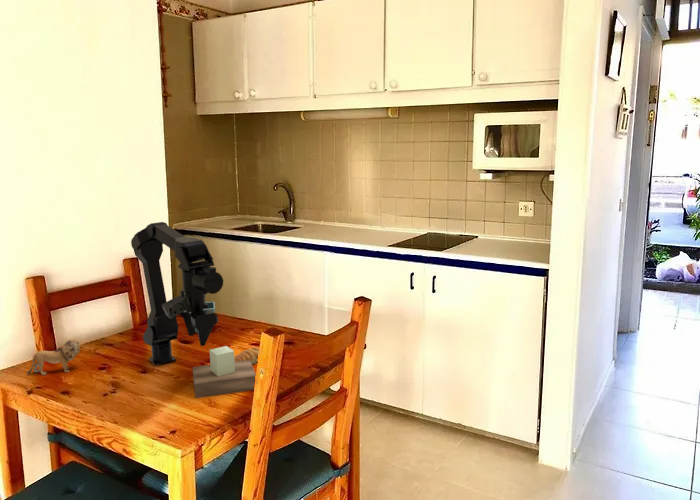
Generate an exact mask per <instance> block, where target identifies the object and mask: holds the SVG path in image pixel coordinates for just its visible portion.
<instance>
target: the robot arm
mask: <svg viewBox="0 0 700 500" xmlns="http://www.w3.org/2000/svg"><path fill="white" fill-rule="evenodd" d="M130 244H131V247H132V250H133V253H134V255H135V257H136V258H137V259H138V261H140V262H141V264H142V269H143V273H144V279H145V280H144V281H145V286H146V290H147V296H148V297H147V298H148V301H149V308H150V312H149V315H148V317H147V319H146V322H147V328H146V329H145V331H144V333H143V336H142V339H143V342H144V343H145V344H146V345H149V347H151V348H150V349H151V356H150V357H148V359H149V361H150V362H151V363H152V364H153V365H154V366H159V365H162V364H163V365H164V364H167V363H171V362H176V361H177V360H176V358H175V356H174V355H172V354H173V353H172V352H173V351H172V341H173V340H177V339H178V334H179V327H180V326H179V323H178V321H177V316H179V315H180V317H182V319H183V321H184V323H185V327H186V330H187V333H188V336H189V337H193V336H194V335H195V333H197V332H198V333H197V336H198V341H199V345H200V347H204V346H205V345H206V344H207V341H208V340H209V337H210V334H211V332H212V330H213V329H214V327H215V325H216V324H218V322H219V315H217V313H216V312H215V313H214V312H212V311H211V310H205V311H203V310H204V309H207V308H208V304H206V303H205V302H206V295H207V294H210V295H215V294H217V293H218V292H220V291H221V290H222V289H223V286H224V279H223V276H222V274H221V273H220V272H217V267H215V262H214V258H213V256H212V254H211V252H210V251H209V249H208V247H207V245H206V243H205V242H204V241H203V240H202V239H199V238H196V237H189V236H188V237H187V236H185V235H183V234H182V233H180V231H179V232H178V231H177V230H175V229H174V228H172V227H170V226H169V225H168V224H167V222H164V221H159V222H153V223H152V222H151V223H149V224H147V225H146V227H145V228H143V229H141V230H139V231H138V232H136V233H135V234H134V235H133V236H132V238H131V240H130ZM163 245H165V246H166V247H167V248H169V249H170V250H172V251H173V252H174V258H176V260H178V262H179V263H180V264H179V265H178V266H177V268H178V269H181V278H182V289H180V291H179V295H178V296H175V297H173V298H171V299H169V300H167V298H166V297H167V296H166V295H167V294H166V291H165V286H164V280H163V279H164V278H163V273H162V268H161V263H160V261H161V260H160V259H161V257H162V254H163V252H164V247H163ZM195 328H196V329H197V332H196V331H195Z"/></svg>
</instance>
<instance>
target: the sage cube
mask: <svg viewBox="0 0 700 500" xmlns="http://www.w3.org/2000/svg"><path fill="white" fill-rule="evenodd" d="M234 357H235V351H234V350H233V349H232V348H231V347H229V346H227V345H224V346H220V347H216V348H211V349H209V363H210V364H209V365H210V366H211V371H212V372H213V373H214V374H216V375H217V376H221V375H225V374H229V373H233V372H235V361H234Z"/></svg>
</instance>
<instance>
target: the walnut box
mask: <svg viewBox="0 0 700 500" xmlns="http://www.w3.org/2000/svg"><path fill="white" fill-rule="evenodd" d="M192 376H193V378H192V379H193V386H194V387H193V389H194V396H195V399H199V398H200V399H201V398H206V397H214V396H220V395H226V394H227V395H228V394H235V393H241V392H242V393H243V392H249V391H255V390H254V383H255V376H256V377H257V375H256V372H255V369H254V367H253V364H251V361H250V360H245V361H237V362H235V372H233V373H229V374H225V375H221V376H217V375H216V374H214V373H213V372H212V371H211V366H210V364H206V365H200V366H192Z"/></svg>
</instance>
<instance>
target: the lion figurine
mask: <svg viewBox="0 0 700 500" xmlns="http://www.w3.org/2000/svg"><path fill="white" fill-rule="evenodd" d="M80 351H81V346H80V341H79V340H77V339H73V338H72V339H69V340H67V341H65V343H64V344H62V345H61V346H59V347H58V348H57V349H56V350H52V351H51V350H39V351H37V352H36V353H34V355H33V356H32V361H31V368H30V369H29V370H28V371H27V373H26V375H30V374H31V373H32V371H34V373H39V372H40V374H41V375H42V376H47V372H46V371H44V370H43V367H44V364H45V362H47V363H50V364H59V363H61V364H62V368H63V371H64V372H65V373H69V372H70V369H69V368H70V367H69V366H68V362H71V361H73V360H74V359H75V357H76V356H78V354H79V353H80Z"/></svg>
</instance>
